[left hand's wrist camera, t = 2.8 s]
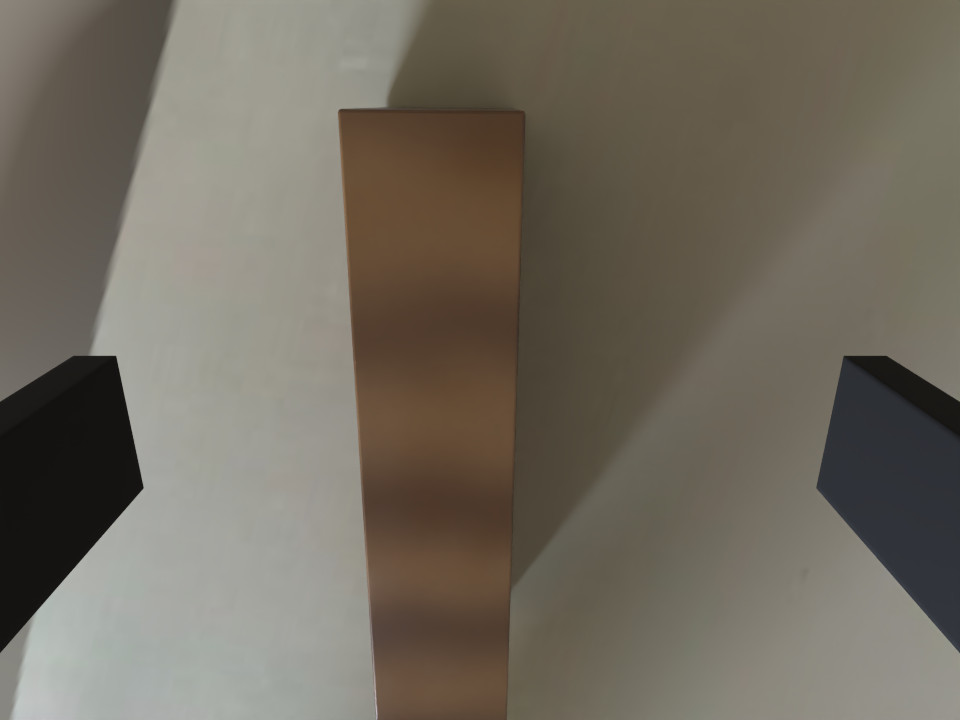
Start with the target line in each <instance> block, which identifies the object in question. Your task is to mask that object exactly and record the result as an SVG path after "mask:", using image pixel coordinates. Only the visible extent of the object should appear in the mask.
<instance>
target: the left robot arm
mask: <svg viewBox="0 0 960 720" xmlns="http://www.w3.org/2000/svg"><path fill="white" fill-rule="evenodd" d="M143 488H144V487H143V483H142V478H141V473H140V468H139V463H138V459H137V454H136V449H135V444H134V439H133V435H132V430H131V425H130V420H129V415H128V411H127V406H126V401H125V396H124V391H123V387H122V382H121V377H120V372H119V368H118V363H117V358H116V356H73V357H71V358H69V359H68V360H66V361H65V362H63V363H61V364H60V365H58V366H57V367H55V368H53V369H52V370H50V371H49V372H47V373H46V374H44V375H42V376H41V377H39V378H38V379H36V380H34V381H33V382H31V383H30V384H28V385H26V386H25V387H23V388H22V389H20V390H18V391H17V392H15V393H14V394H12V395H10V396H9V397H7V398H6V399H4V400H2V401H1V402H0V652H1V651H2V650H3V649H4V648H5V647H6V646H7V645H8V643H9V642H10V641H11V640H12V639H13V638H14V636H15V635H16V634H17V633H18V632H19V631H20V630H21V628H22V627H23V626H24V625H25V624H26V623H27V622H28V620H29V619H30V618H31V617H32V616H33V615H34V613H35V612H36V611H37V610H38V609H39V608H40V607H41V605H42V604H43V603H44V602H45V601H46V600H47V599H48V597H49V596H50V595H51V594H52V593H53V592H54V591H55V589H56V588H57V587H58V586H59V585H60V584H61V582H62V581H63V580H64V579H65V578H66V577H67V576H68V574H69V573H70V572H71V571H72V570H73V569H74V568H75V566H76V565H77V564H78V563H79V562H80V561H81V559H82V558H83V557H84V556H85V555H86V554H87V553H88V551H89V550H90V549H91V548H92V547H93V546H94V545H95V543H96V542H97V541H98V540H99V539H100V538H101V537H102V535H103V534H104V533H105V532H106V531H107V530H108V528H109V527H110V526H111V525H112V524H113V523H114V522H115V520H116V519H117V518H118V517H119V516H120V515H121V514H122V512H123V511H124V510H125V509H126V508H127V507H128V505H129V504H130V503H131V502H132V501H133V500H134V499H135V497H136V496H137V495H138V494H139V493H140V492H141V491H142V489H143ZM816 488H817V489H818V491H819V492H820V493H821V494H822V495H823V496H824V497H825V499H826V500H827V501H828V502H829V503H830V504H831V505H832V507H833V508H834V509H835V510H836V511H837V512H838V514H839V515H840V516H841V517H842V518H843V519H844V520H845V522H846V523H847V524H848V525H849V526H850V527H851V528H852V530H853V531H854V532H855V533H856V534H857V535H858V537H859V538H860V539H861V540H862V541H863V542H864V543H865V545H866V546H867V547H868V548H869V549H870V550H871V551H872V553H873V554H874V555H875V556H876V557H877V558H878V559H879V561H880V562H881V563H882V564H883V565H884V566H885V568H886V569H887V570H888V571H889V572H890V573H891V574H892V576H893V577H894V578H895V579H896V580H897V581H898V582H899V584H900V585H901V586H902V587H903V588H904V589H905V591H906V592H907V593H908V594H909V595H910V596H911V597H912V599H913V600H914V601H915V602H916V603H917V604H918V605H919V607H920V608H921V609H922V610H923V611H924V612H925V613H926V615H927V616H928V617H929V618H930V619H931V620H932V622H933V623H934V624H935V625H936V626H937V627H938V628H939V630H940V631H941V632H942V633H943V634H944V635H945V636H946V638H947V639H948V640H949V641H950V642H951V643H952V645H953V646H954V647H955V648H956V649H957V650H958V651H959V653H960V402H959V401H958V400H956V399H954V398H953V397H951V396H950V395H948V394H946V393H945V392H943V391H942V390H940V389H938V388H937V387H935V386H934V385H932V384H930V383H929V382H927V381H926V380H924V379H922V378H921V377H919V376H918V375H916V374H914V373H913V372H911V371H910V370H908V369H906V368H905V367H903V366H902V365H900V364H899V363H897V362H895V361H894V360H892V359H891V358H889V357H887V356H844V358H843V363H842V368H841V372H840V377H839V382H838V387H837V391H836V396H835V401H834V406H833V411H832V415H831V420H830V425H829V430H828V435H827V439H826V444H825V449H824V454H823V459H822V463H821V468H820V473H819V478H818V483H817V487H816Z"/></svg>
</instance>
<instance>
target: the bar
mask: <svg viewBox="0 0 960 720" xmlns="http://www.w3.org/2000/svg"><path fill="white" fill-rule="evenodd" d="M338 120H339V136H340V152H341V168H342V184H343V199H344V215H345V231H346V247H347V263H348V279H349V295H350V311H351V327H352V343H353V359H354V375H355V391H356V407H357V423H358V439H359V455H360V471H361V487H362V503H363V519H364V535H365V551H366V567H367V583H368V599H369V615H370V631H371V647H372V663H373V679H374V695H375V711H376V720H507V691H508V658H509V626H510V594H511V561H512V529H513V497H514V465H515V432H516V400H517V368H518V335H519V303H520V271H521V238H522V206H523V174H524V142H525V112H524V111H521V110H516V109H489V108H355V109H340V110H339V111H338Z"/></svg>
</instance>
